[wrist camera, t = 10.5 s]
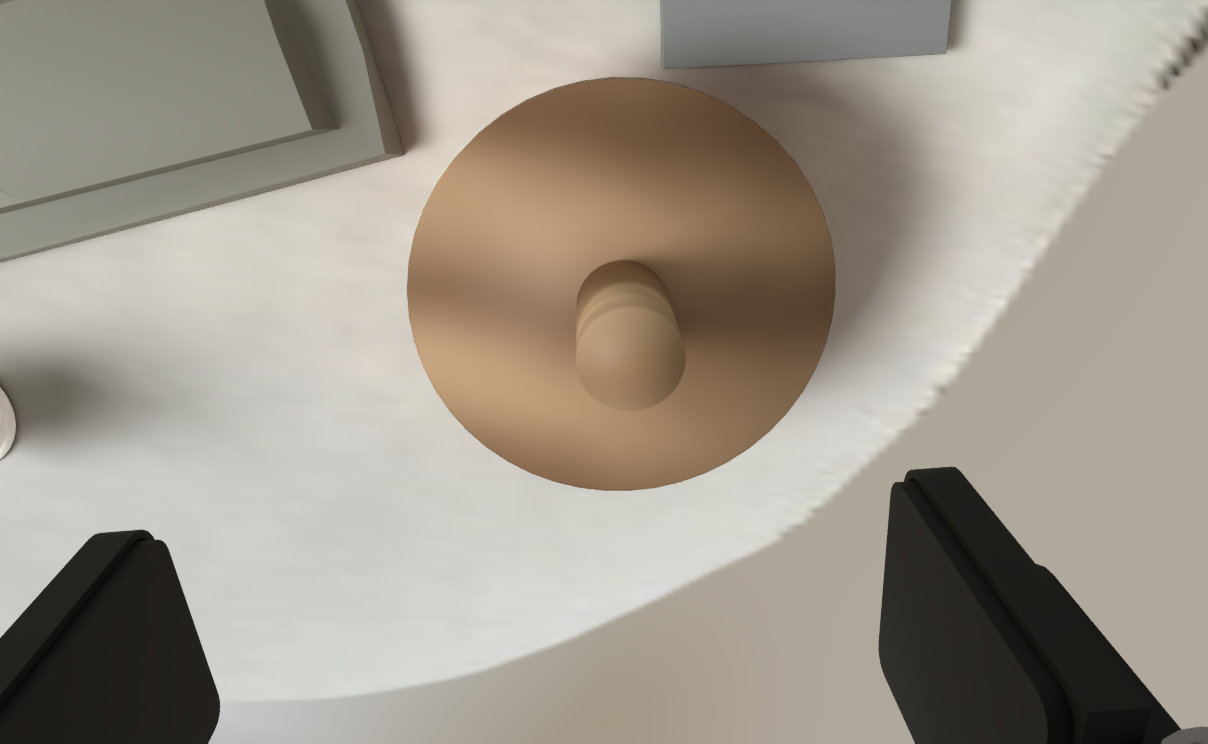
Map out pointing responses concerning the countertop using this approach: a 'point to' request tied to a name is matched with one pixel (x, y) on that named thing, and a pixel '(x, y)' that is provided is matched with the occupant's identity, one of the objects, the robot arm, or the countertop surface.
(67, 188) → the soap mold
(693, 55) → the mat
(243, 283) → the countertop surface
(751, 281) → the lid
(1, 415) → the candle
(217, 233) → the countertop surface
